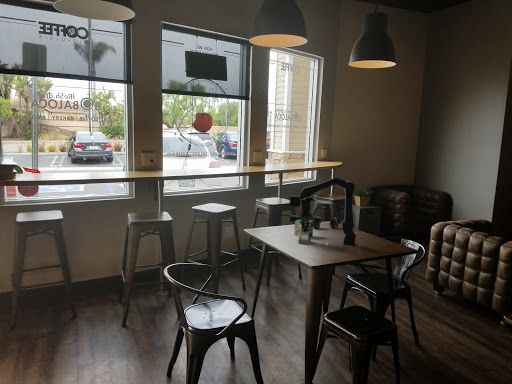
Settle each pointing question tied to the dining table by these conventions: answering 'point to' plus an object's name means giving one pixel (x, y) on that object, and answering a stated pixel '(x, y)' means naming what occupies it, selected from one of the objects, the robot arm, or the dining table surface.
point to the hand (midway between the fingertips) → (305, 232)
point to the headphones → (333, 222)
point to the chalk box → (300, 229)
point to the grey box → (304, 236)
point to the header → (304, 241)
